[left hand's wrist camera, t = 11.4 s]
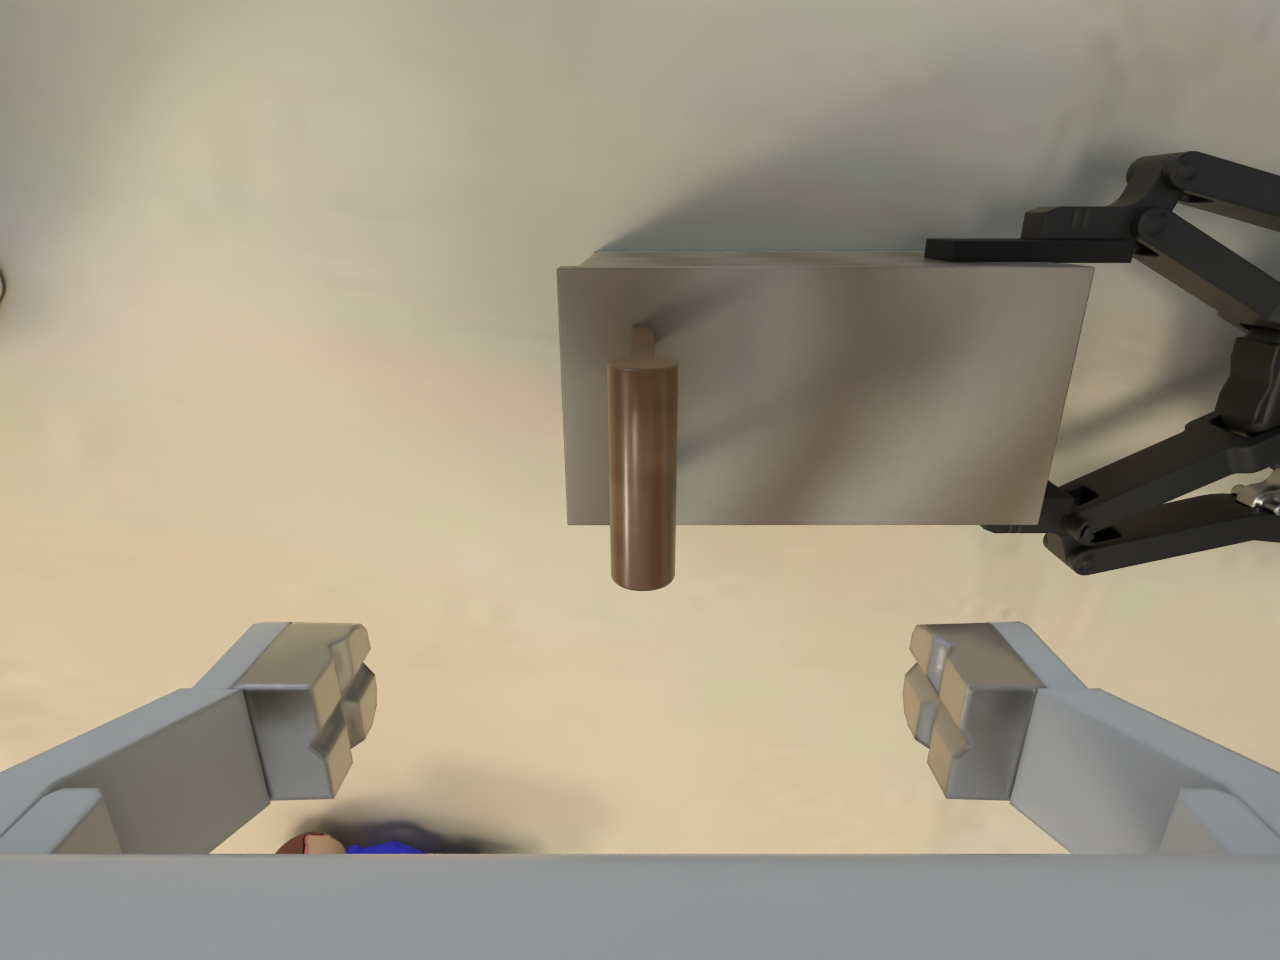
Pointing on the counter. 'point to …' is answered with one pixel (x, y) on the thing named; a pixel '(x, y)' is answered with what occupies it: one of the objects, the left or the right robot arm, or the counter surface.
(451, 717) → the counter surface
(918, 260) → the chest
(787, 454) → the lid
